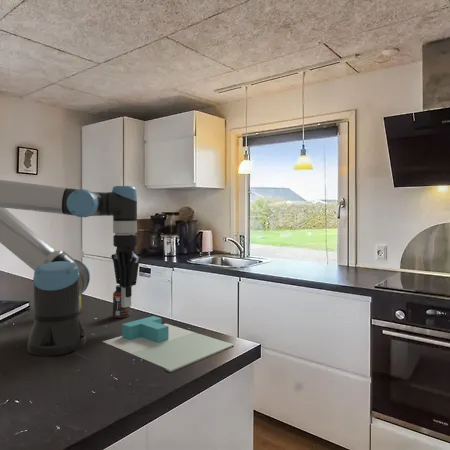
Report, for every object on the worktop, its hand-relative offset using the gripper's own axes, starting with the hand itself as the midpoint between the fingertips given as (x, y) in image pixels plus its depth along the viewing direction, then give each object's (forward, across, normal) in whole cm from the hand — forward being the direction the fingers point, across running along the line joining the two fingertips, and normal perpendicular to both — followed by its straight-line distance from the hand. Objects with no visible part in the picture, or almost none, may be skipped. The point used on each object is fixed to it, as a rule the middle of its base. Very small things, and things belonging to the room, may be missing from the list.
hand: (126, 306), depth 125 cm
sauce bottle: (+8, +31, +2) cm, 32 cm away
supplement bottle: (+8, +14, -8) cm, 18 cm away
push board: (+8, -21, 0) cm, 22 cm away
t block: (+7, -13, 0) cm, 15 cm away
